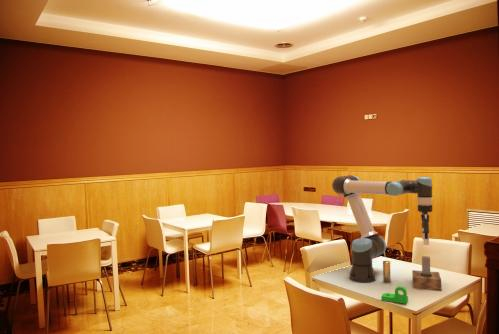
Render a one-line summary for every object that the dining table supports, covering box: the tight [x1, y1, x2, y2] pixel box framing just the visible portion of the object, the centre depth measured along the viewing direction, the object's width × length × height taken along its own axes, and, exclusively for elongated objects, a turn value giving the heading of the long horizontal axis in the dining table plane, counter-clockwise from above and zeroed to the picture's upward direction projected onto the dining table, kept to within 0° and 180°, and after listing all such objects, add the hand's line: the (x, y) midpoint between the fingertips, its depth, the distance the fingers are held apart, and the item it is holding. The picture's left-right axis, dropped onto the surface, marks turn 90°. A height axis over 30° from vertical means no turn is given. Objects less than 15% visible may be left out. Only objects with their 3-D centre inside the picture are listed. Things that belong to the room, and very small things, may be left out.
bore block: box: [411, 269, 442, 292], centre depth 216 cm, size 14×14×6 cm
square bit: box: [421, 255, 431, 277], centre depth 216 cm, size 4×4×15 cm
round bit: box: [382, 260, 392, 284], centre depth 223 cm, size 4×4×12 cm
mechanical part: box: [381, 285, 409, 305], centre depth 197 cm, size 12×6×8 cm, turn 60°
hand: (425, 242), depth 215 cm, fingers open, 13 cm apart
